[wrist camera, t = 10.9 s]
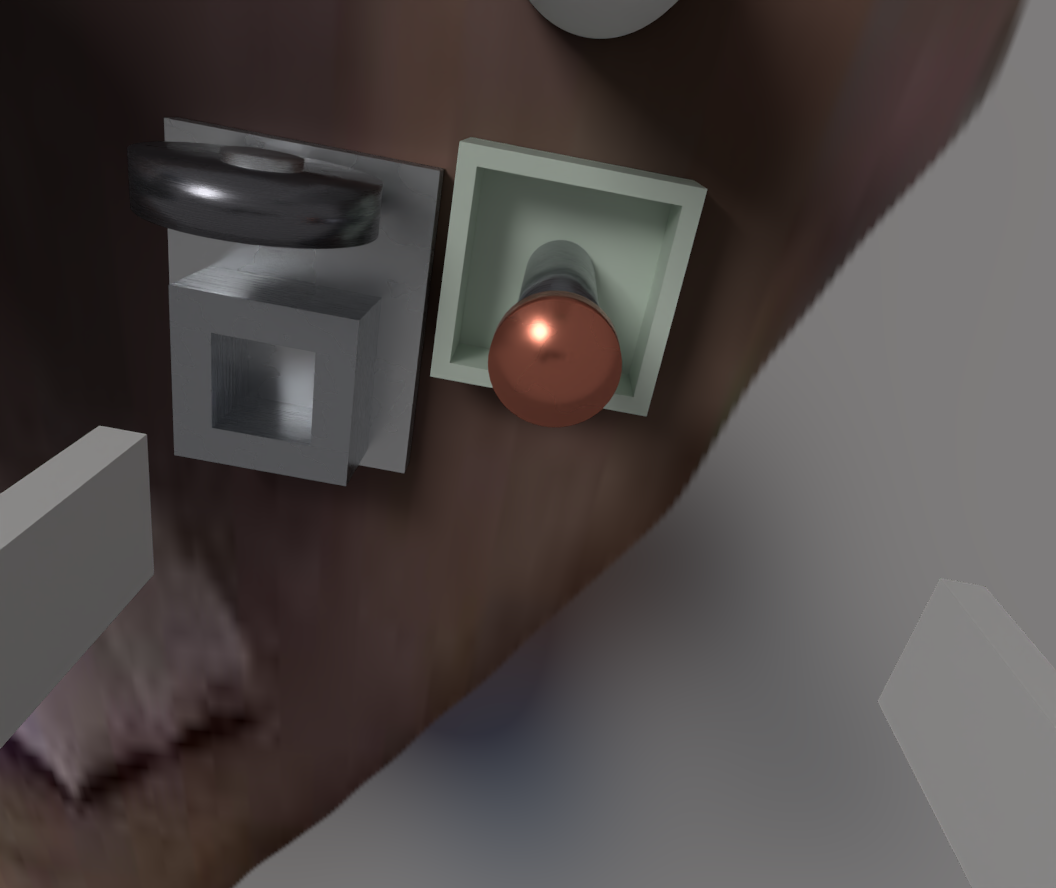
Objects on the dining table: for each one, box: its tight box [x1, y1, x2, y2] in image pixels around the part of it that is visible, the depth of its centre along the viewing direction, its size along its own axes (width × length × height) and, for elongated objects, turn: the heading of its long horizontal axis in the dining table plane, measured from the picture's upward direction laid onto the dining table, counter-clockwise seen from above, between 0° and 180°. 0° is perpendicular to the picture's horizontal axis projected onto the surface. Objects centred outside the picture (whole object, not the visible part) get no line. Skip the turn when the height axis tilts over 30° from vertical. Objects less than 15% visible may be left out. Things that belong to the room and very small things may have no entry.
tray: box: [430, 137, 707, 417], centre depth 33 cm, size 10×10×4 cm
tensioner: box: [127, 117, 444, 486], centre depth 31 cm, size 12×15×10 cm
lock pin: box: [488, 240, 622, 427], centre depth 29 cm, size 4×4×12 cm
